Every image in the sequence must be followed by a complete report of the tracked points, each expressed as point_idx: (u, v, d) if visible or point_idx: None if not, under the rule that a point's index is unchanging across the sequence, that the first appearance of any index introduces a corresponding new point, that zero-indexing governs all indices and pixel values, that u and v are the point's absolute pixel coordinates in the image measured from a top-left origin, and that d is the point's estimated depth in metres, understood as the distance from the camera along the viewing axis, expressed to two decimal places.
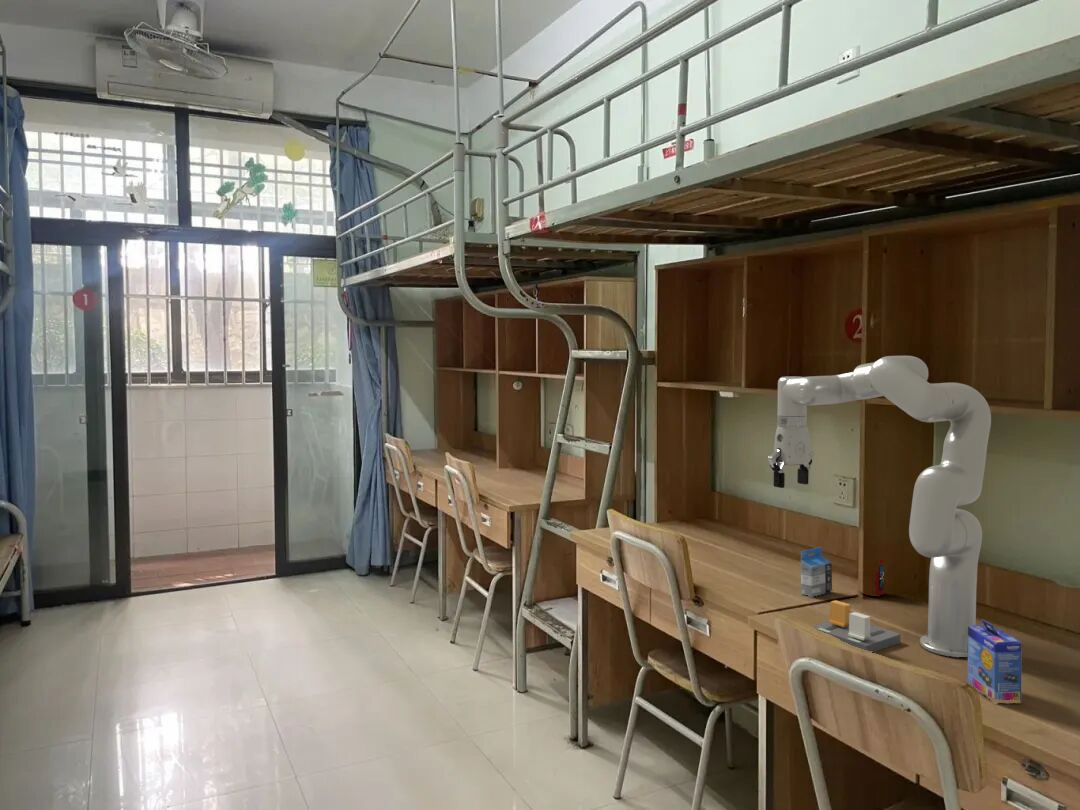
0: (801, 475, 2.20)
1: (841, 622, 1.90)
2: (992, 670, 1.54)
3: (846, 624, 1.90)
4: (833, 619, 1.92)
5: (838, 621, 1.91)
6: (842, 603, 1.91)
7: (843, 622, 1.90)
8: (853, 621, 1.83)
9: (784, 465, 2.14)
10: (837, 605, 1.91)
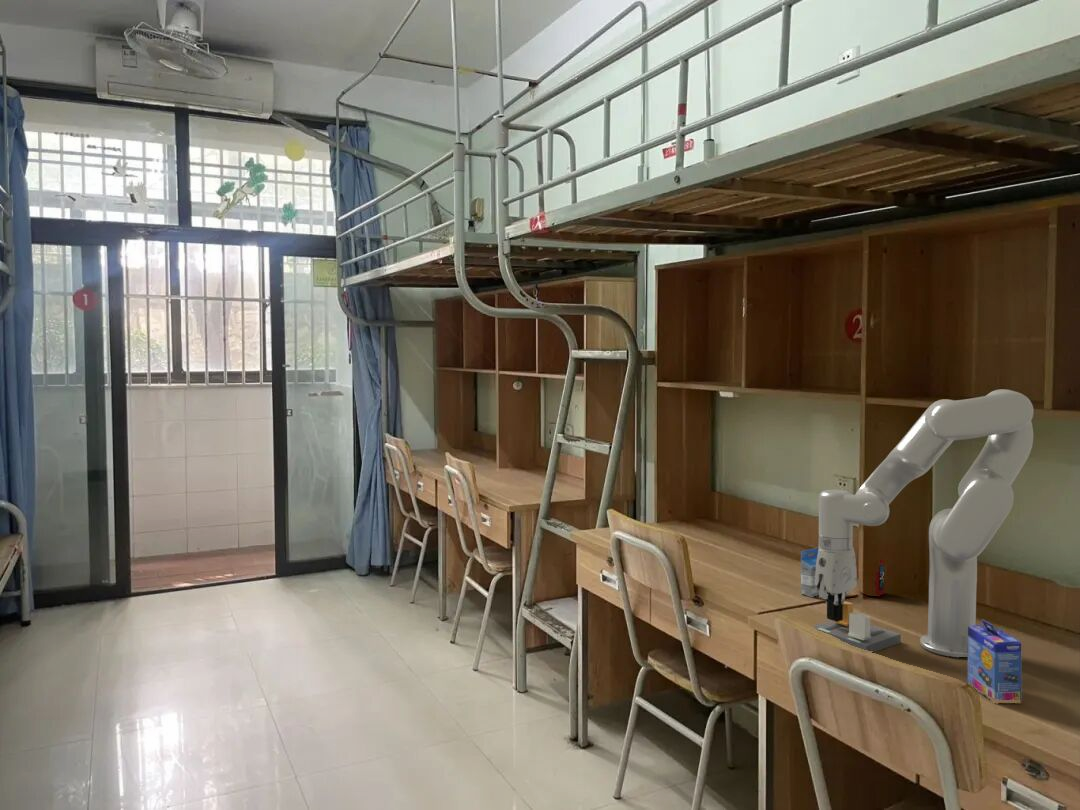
0: None
1: (844, 621, 1.91)
2: (992, 670, 1.54)
3: None
4: None
5: None
6: (845, 602, 1.92)
7: (846, 621, 1.91)
8: (853, 621, 1.83)
9: (836, 595, 1.88)
10: None
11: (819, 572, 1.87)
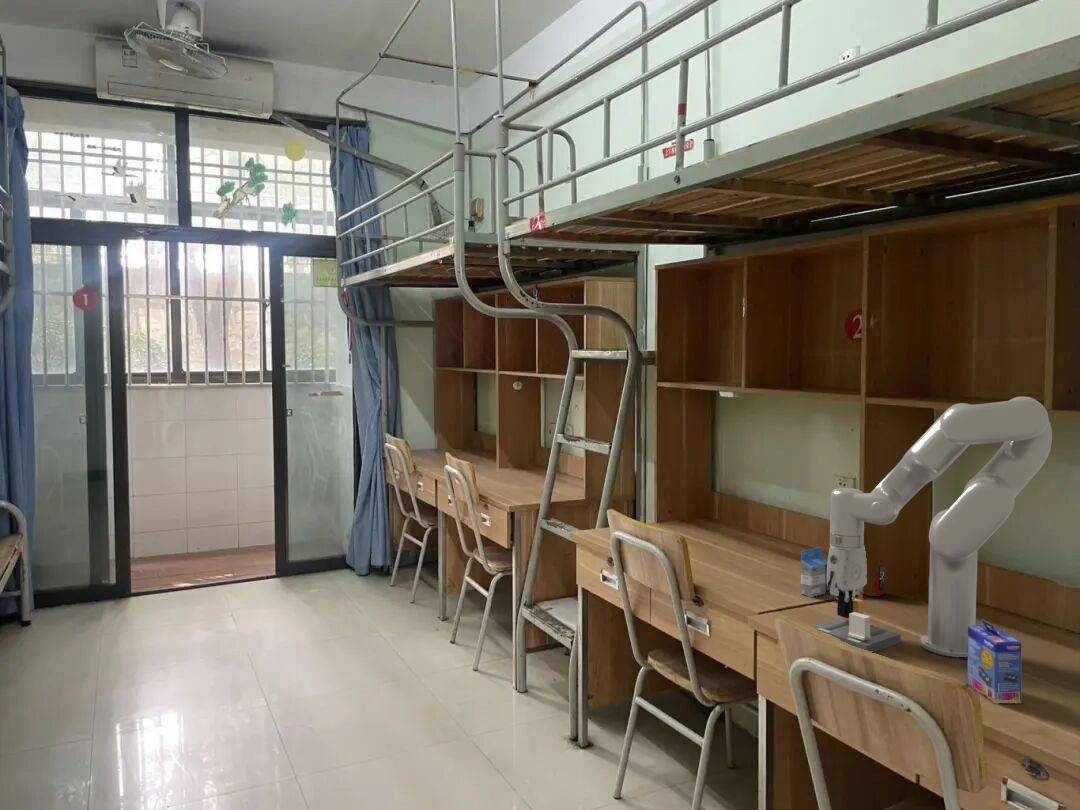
0: None
1: None
2: (992, 670, 1.54)
3: None
4: None
5: None
6: (855, 599, 1.94)
7: None
8: (853, 621, 1.83)
9: (846, 592, 1.90)
10: None
11: (830, 569, 1.90)
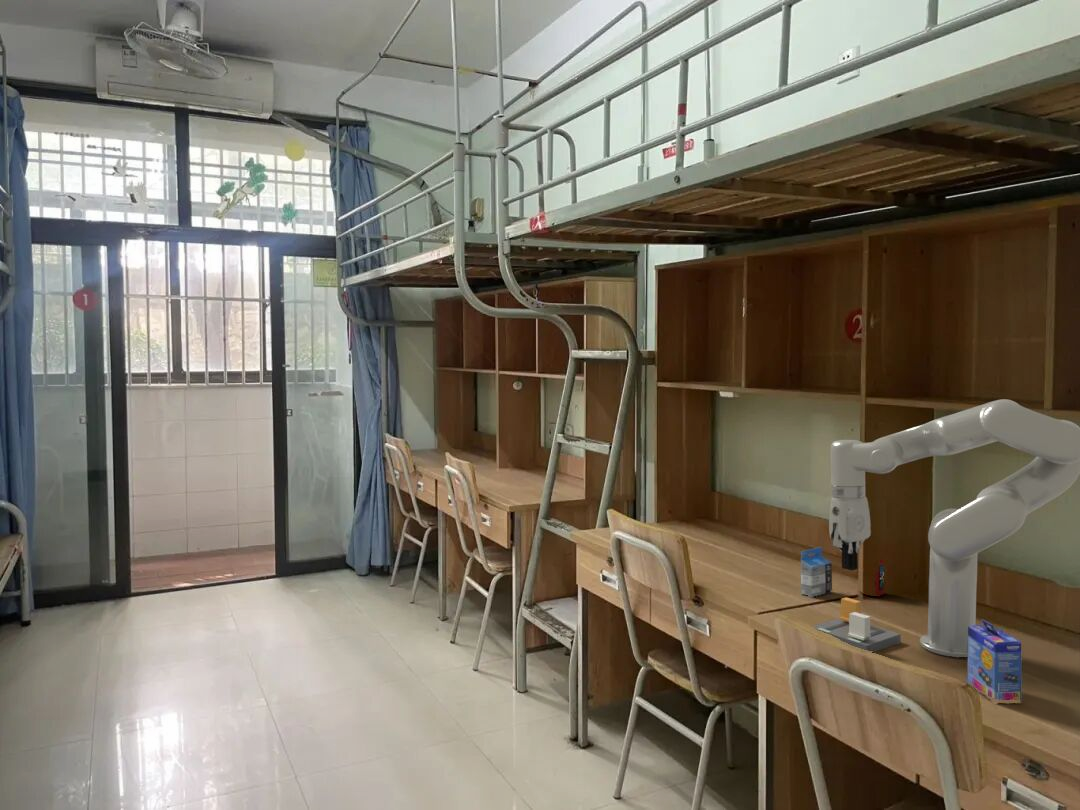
0: None
1: None
2: (992, 670, 1.54)
3: None
4: (844, 616, 1.94)
5: None
6: (853, 600, 1.93)
7: None
8: (853, 621, 1.83)
9: (850, 544, 1.90)
10: (848, 602, 1.93)
11: (833, 521, 1.89)
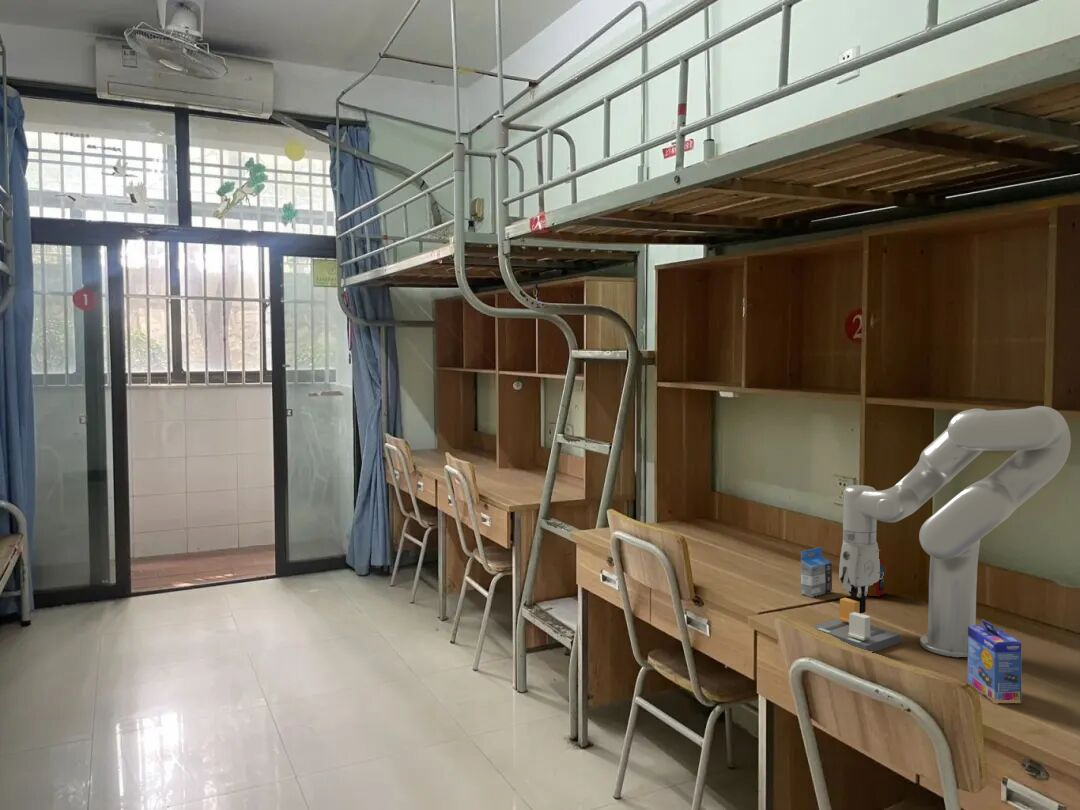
0: None
1: None
2: (992, 670, 1.54)
3: None
4: (842, 616, 1.94)
5: (847, 618, 1.93)
6: (851, 600, 1.93)
7: None
8: (853, 621, 1.83)
9: (859, 588, 1.93)
10: (846, 602, 1.93)
11: (843, 565, 1.93)
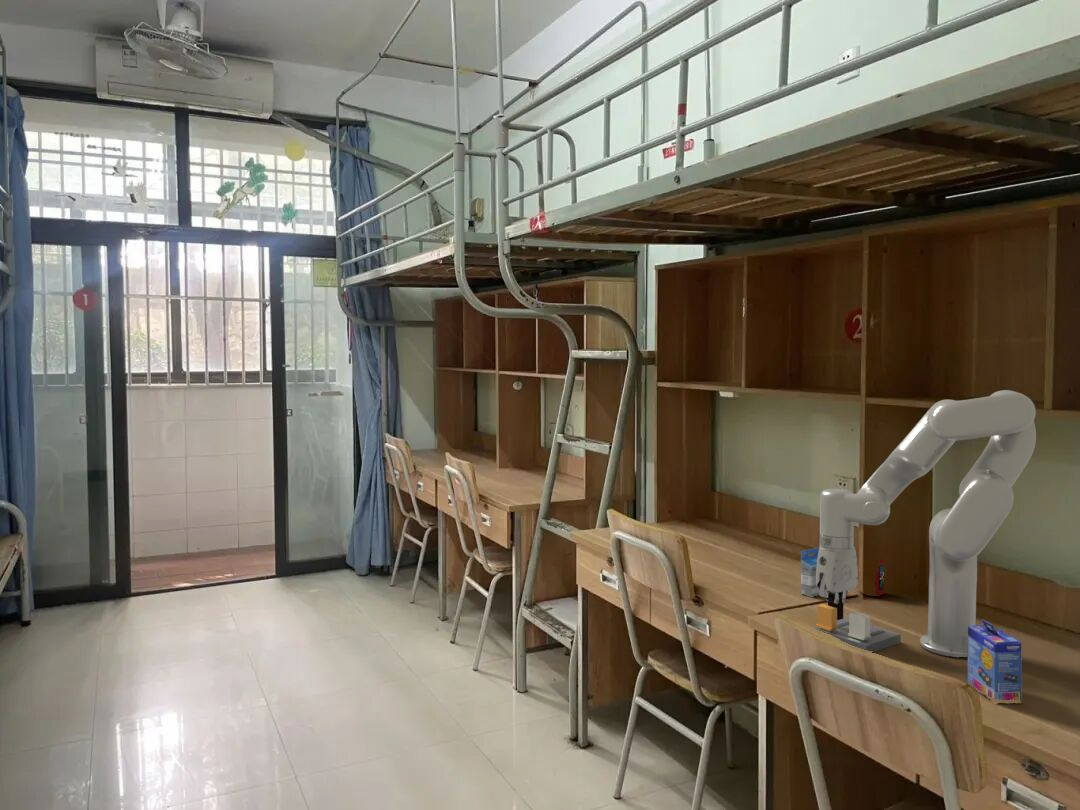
0: None
1: (828, 626, 1.88)
2: (992, 670, 1.54)
3: (833, 628, 1.87)
4: (820, 623, 1.89)
5: (825, 625, 1.88)
6: (829, 607, 1.89)
7: (830, 626, 1.87)
8: (853, 621, 1.83)
9: (836, 594, 1.89)
10: (824, 608, 1.88)
11: (820, 571, 1.88)
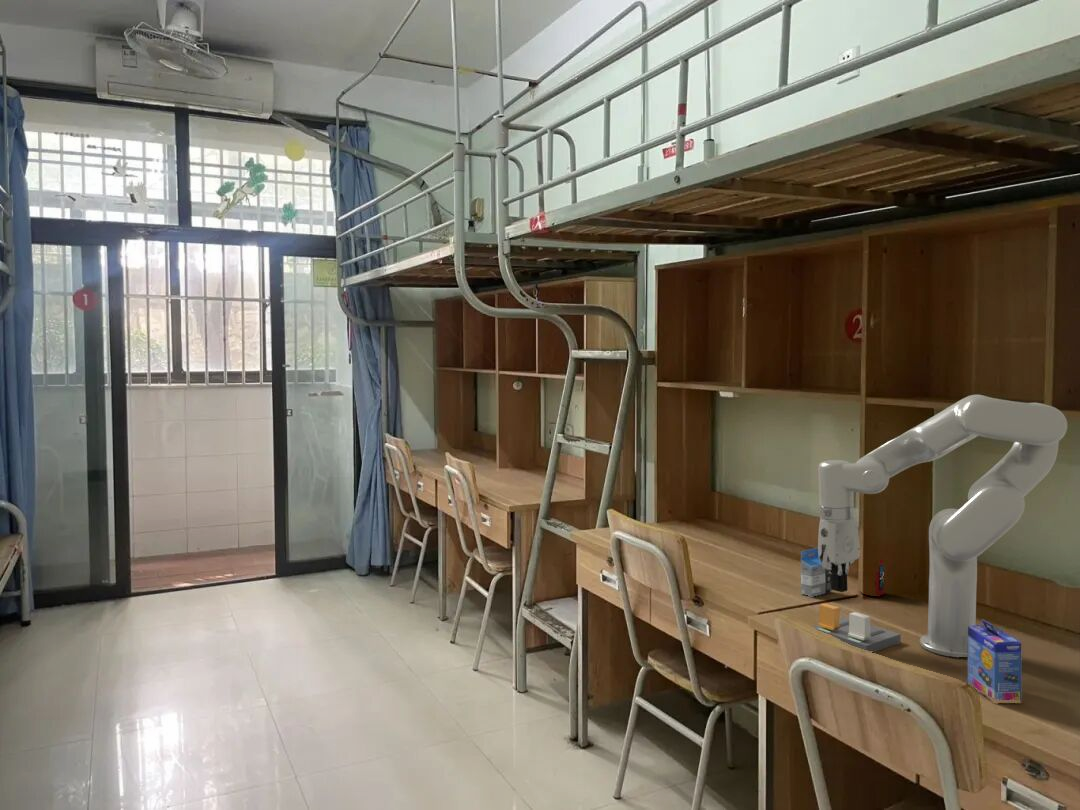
0: None
1: (830, 625, 1.88)
2: (992, 670, 1.54)
3: (835, 627, 1.88)
4: (822, 622, 1.90)
5: (827, 624, 1.89)
6: (831, 606, 1.89)
7: (832, 625, 1.88)
8: (853, 621, 1.83)
9: (839, 565, 1.87)
10: (826, 608, 1.89)
11: (821, 543, 1.87)
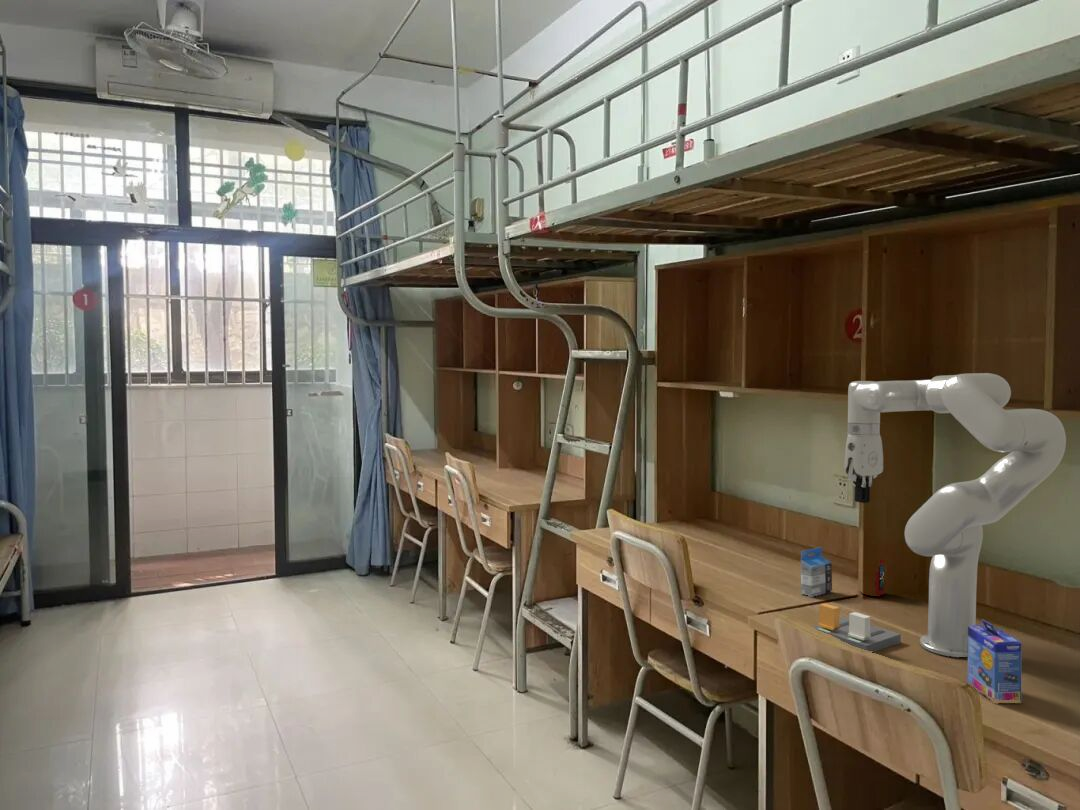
0: None
1: (830, 625, 1.88)
2: (992, 670, 1.54)
3: (835, 627, 1.88)
4: (822, 622, 1.90)
5: (827, 624, 1.89)
6: (831, 606, 1.89)
7: (832, 625, 1.88)
8: (853, 621, 1.83)
9: (863, 478, 2.02)
10: (826, 608, 1.89)
11: (848, 456, 2.01)
